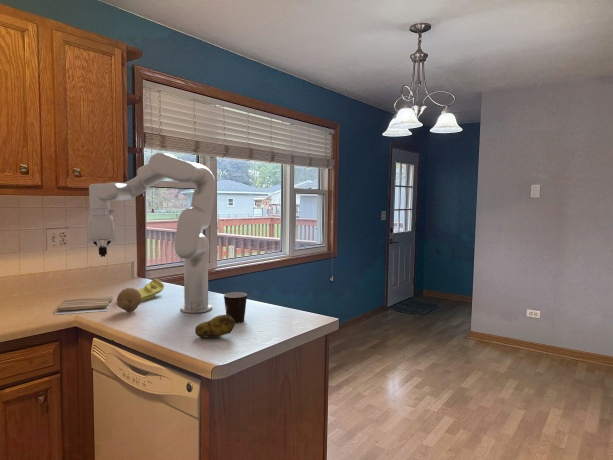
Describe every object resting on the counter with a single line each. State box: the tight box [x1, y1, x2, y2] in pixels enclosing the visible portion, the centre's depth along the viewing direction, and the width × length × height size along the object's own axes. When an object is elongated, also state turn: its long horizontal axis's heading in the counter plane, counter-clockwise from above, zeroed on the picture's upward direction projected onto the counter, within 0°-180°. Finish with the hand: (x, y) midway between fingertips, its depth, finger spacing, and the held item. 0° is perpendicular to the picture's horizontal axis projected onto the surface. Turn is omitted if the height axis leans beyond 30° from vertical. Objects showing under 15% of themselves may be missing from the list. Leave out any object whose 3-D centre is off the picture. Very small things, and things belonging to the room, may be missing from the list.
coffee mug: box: [223, 291, 248, 325], centre depth 160 cm, size 12×9×10 cm
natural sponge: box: [116, 287, 141, 313], centre depth 172 cm, size 9×9×10 cm
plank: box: [57, 301, 109, 311], centre depth 178 cm, size 8×18×1 cm, turn 109°
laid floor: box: [53, 296, 113, 316], centre depth 181 cm, size 21×19×1 cm
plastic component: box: [121, 278, 165, 303], centre depth 197 cm, size 20×7×10 cm
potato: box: [194, 314, 236, 339], centre depth 142 cm, size 8×13×8 cm, turn 62°
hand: (103, 256), depth 182 cm, fingers closed
